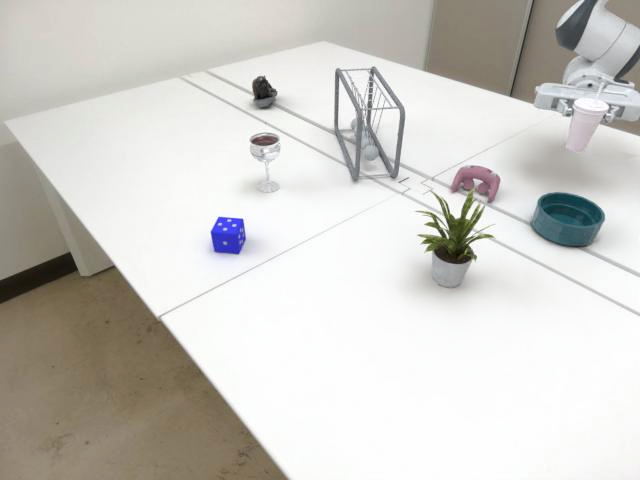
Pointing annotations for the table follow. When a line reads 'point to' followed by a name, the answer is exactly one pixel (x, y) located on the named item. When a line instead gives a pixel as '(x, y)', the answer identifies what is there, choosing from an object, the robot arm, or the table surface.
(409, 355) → the table surface
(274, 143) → the wineglass
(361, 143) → the newton's cradle
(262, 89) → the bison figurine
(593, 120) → the smoothie
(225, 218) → the die
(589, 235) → the bowl
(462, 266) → the house plant
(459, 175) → the video game controller
